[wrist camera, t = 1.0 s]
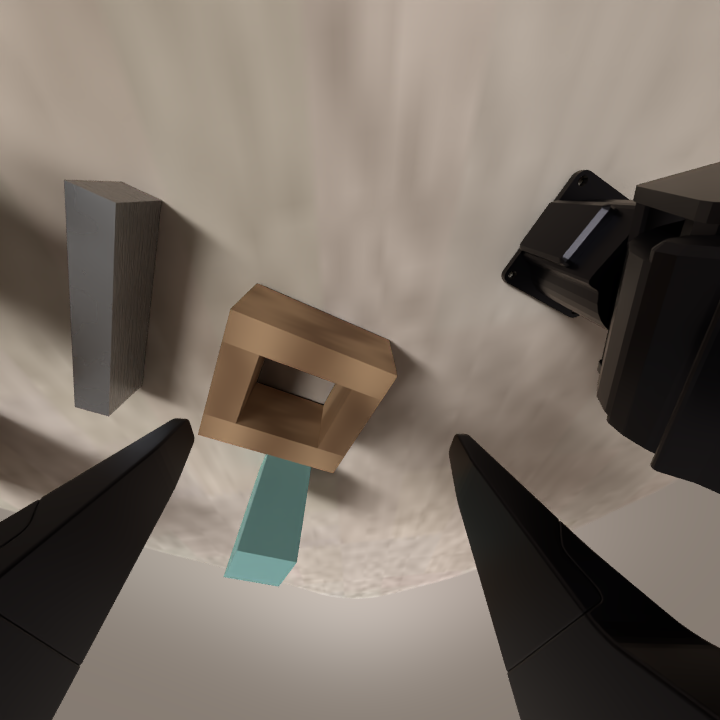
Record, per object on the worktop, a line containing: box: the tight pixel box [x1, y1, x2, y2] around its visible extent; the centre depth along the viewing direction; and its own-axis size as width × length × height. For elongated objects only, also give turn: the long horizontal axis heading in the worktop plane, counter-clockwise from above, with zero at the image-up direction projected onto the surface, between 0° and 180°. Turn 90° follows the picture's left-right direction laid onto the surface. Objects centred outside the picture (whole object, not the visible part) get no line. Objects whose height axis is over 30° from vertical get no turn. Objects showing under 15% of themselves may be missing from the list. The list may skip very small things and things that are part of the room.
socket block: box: [198, 284, 397, 473], centre depth 19 cm, size 10×10×4 cm
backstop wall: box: [64, 180, 161, 416], centre depth 17 cm, size 2×14×4 cm, turn 154°
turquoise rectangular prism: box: [224, 454, 311, 586], centre depth 23 cm, size 4×4×9 cm
